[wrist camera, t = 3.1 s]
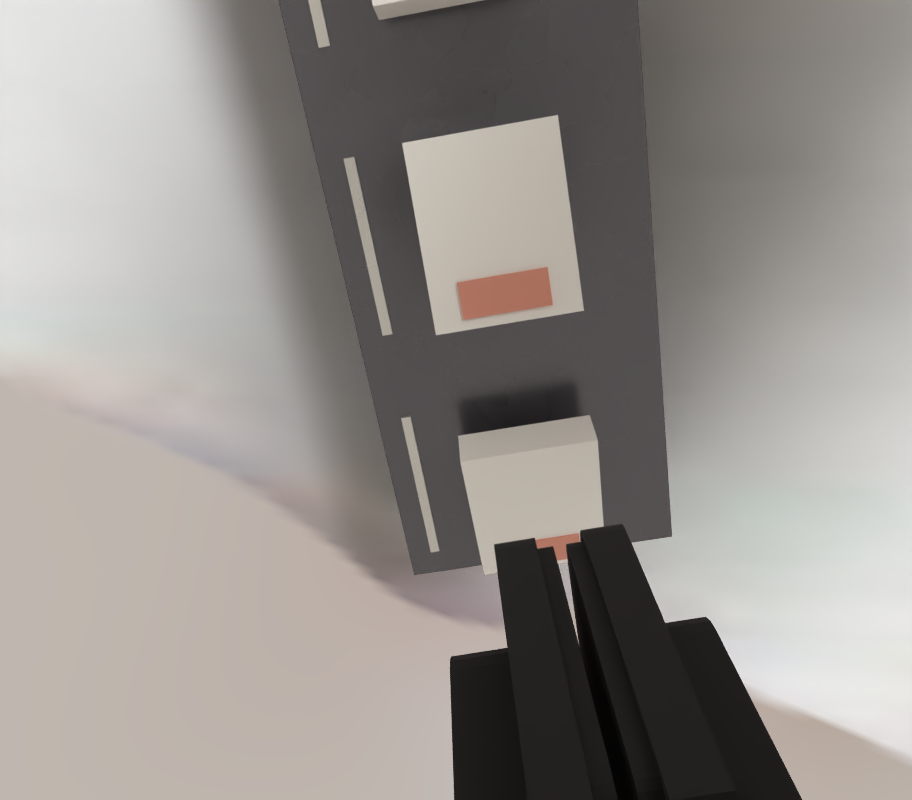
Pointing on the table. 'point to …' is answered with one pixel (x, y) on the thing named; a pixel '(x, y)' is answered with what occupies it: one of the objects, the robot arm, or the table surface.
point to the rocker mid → (494, 225)
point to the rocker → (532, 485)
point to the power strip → (400, 259)
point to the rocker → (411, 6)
